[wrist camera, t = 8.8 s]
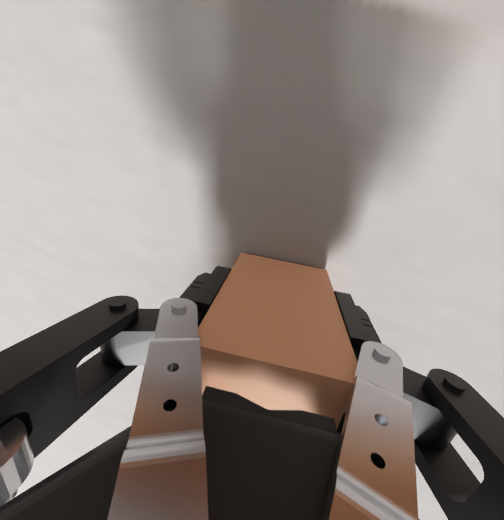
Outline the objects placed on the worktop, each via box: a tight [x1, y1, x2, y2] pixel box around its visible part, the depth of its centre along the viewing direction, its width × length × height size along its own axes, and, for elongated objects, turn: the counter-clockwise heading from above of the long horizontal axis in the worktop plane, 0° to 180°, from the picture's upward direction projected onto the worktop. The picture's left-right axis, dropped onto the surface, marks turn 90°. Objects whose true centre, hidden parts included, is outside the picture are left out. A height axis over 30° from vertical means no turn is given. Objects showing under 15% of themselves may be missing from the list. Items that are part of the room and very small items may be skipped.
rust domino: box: [198, 252, 357, 423], centre depth 11 cm, size 5×2×8 cm, turn 81°
